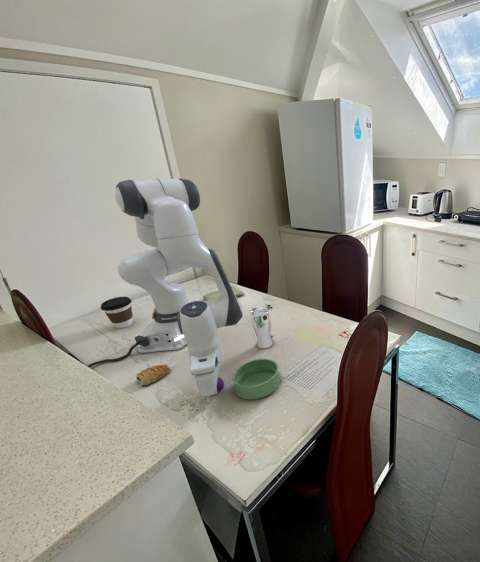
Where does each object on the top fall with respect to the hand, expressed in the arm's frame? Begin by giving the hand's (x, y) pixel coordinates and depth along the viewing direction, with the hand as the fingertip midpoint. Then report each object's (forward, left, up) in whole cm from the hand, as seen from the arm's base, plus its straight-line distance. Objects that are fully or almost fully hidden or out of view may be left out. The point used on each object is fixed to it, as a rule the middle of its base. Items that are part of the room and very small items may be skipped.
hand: (216, 386), depth 102 cm
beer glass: (+16, +22, -2) cm, 27 cm away
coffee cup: (-44, +61, -2) cm, 75 cm away
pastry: (-22, +15, -2) cm, 27 cm away
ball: (0, 0, -2) cm, 2 cm away
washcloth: (-3, +75, -2) cm, 75 cm away
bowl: (+13, -2, -2) cm, 13 cm away
